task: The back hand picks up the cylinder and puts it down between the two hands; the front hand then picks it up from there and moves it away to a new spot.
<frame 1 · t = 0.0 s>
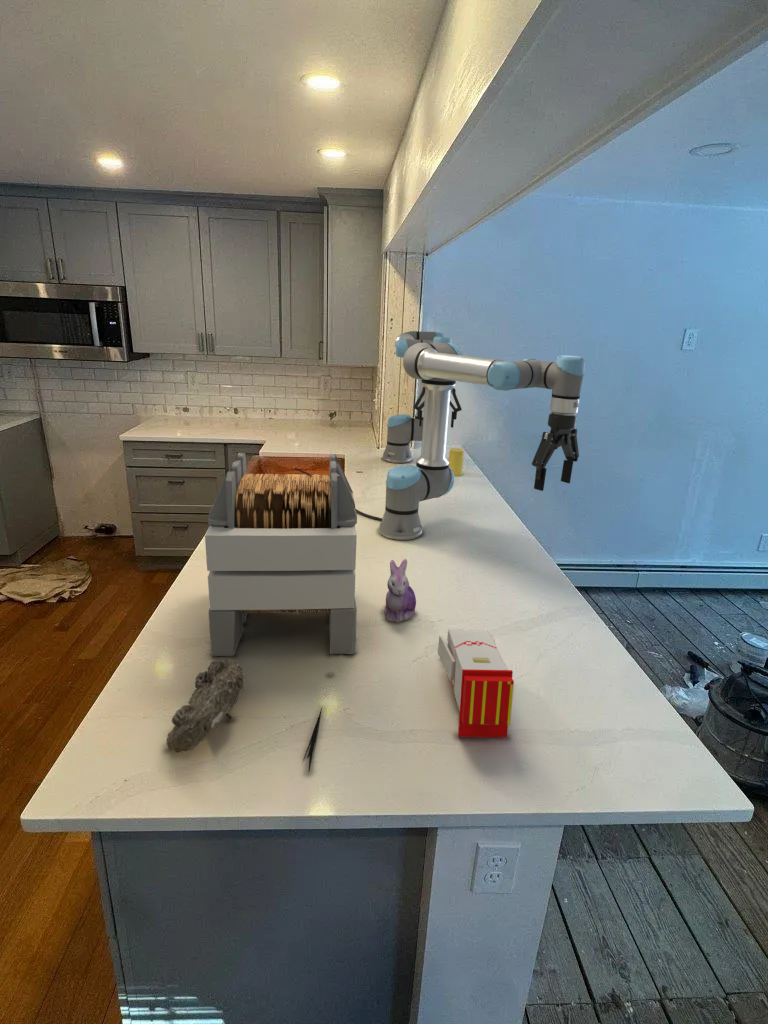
front hand: (552, 485, 166), 28 cm above the counter, tool pointing down, fingers open, 13 cm apart
back hand: (436, 426, 242), 28 cm above the counter, tool pointing down, fingers open, 13 cm apart
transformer: (287, 618, 143), on the counter
toy: (469, 691, 119), on the counter
figurine: (399, 614, 147), on the counter
cylinder: (454, 473, 277), on the counter
fossil: (212, 717, 108), on the counter
feather: (319, 719, 109), on the counter
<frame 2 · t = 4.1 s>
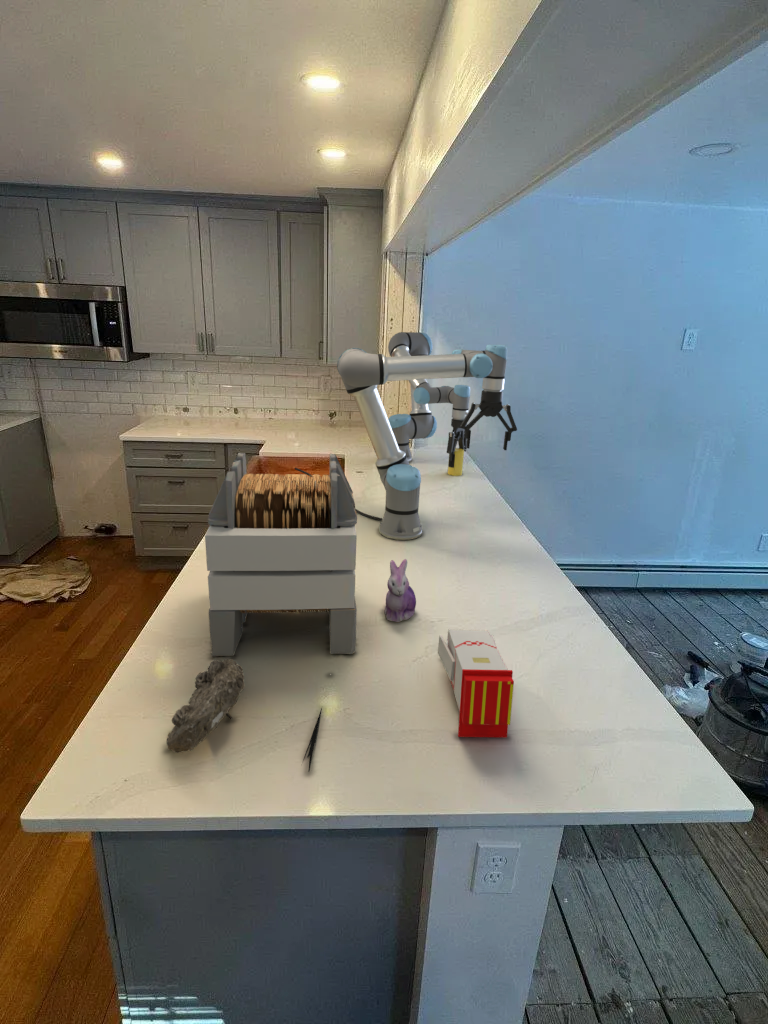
front hand: (486, 448, 209), 28 cm above the counter, tool pointing down, fingers open, 13 cm apart
back hand: (455, 465, 275), 4 cm above the counter, tool pointing down, fingers closed on cylinder, 7 cm apart
cylinder: (454, 473, 277), on the counter, touching back hand
everything else where it was.
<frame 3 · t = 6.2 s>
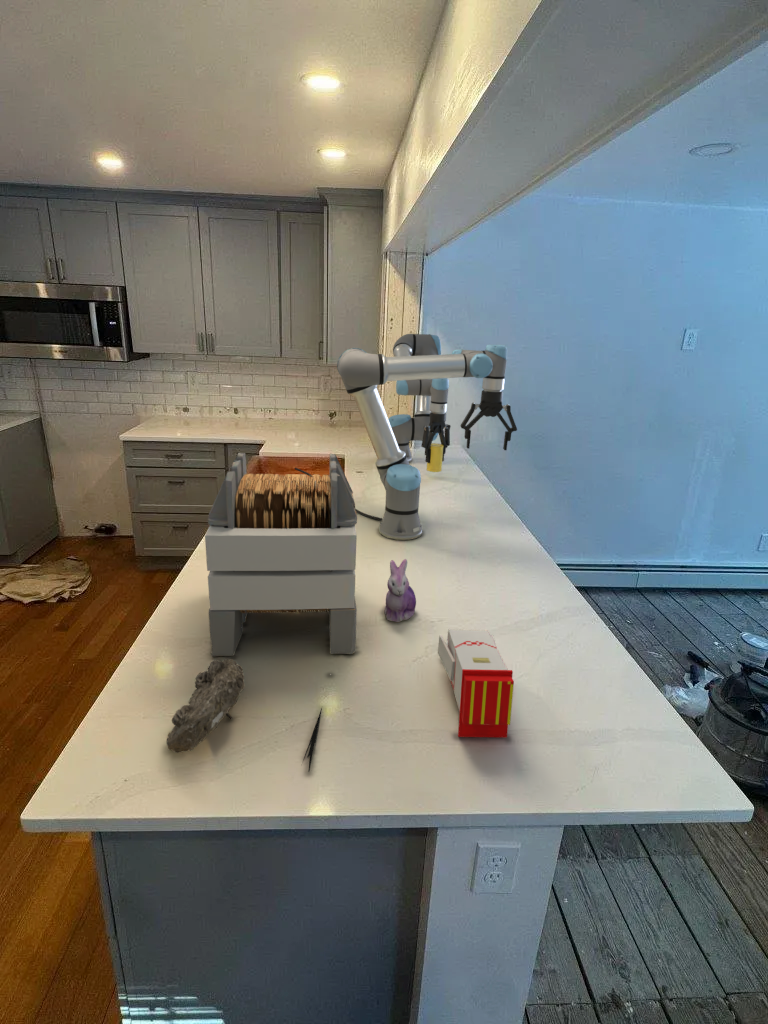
front hand: (486, 448, 209), 28 cm above the counter, tool pointing down, fingers open, 13 cm apart
back hand: (434, 461, 265), 8 cm above the counter, tool pointing down, fingers closed on cylinder, 7 cm apart
cylinder: (434, 470, 266), point 4 cm above the counter, touching back hand
everything else where it was.
when the back hand's fingers open (5 cm above the counter, at t = 8.4 s): cylinder drops 1 cm, on the counter.
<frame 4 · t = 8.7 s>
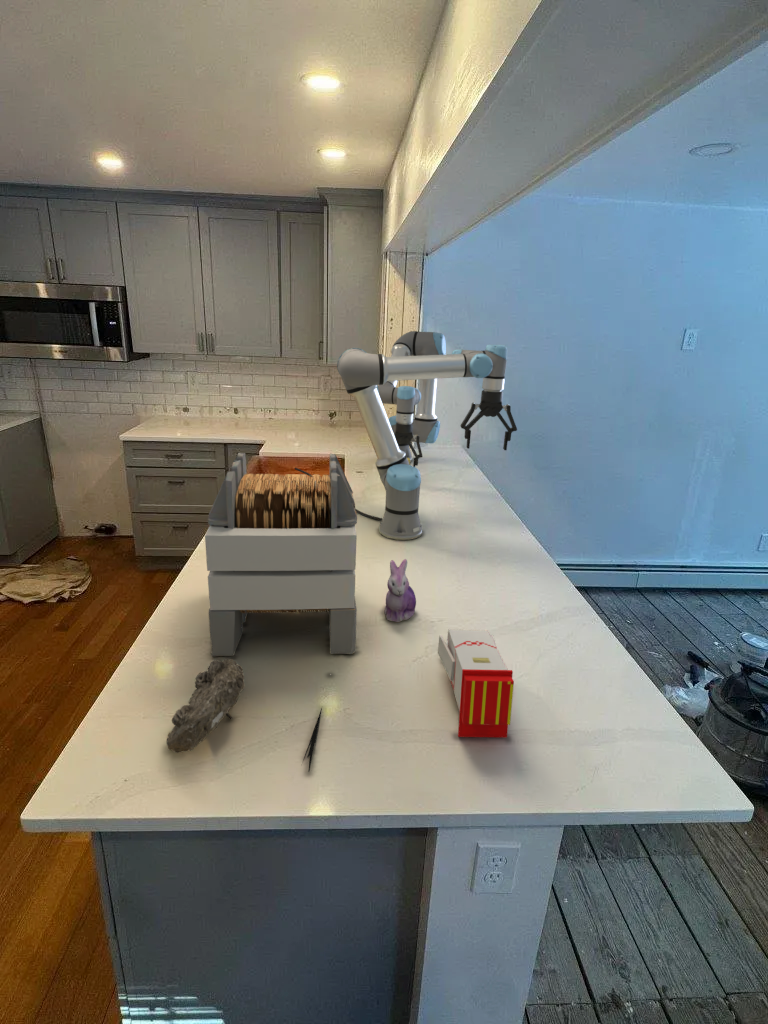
front hand: (486, 448, 209), 28 cm above the counter, tool pointing down, fingers open, 13 cm apart
back hand: (401, 472, 254), 6 cm above the counter, tool pointing down, fingers open, 10 cm apart
cylinder: (401, 484, 256), on the counter
everything else where it was.
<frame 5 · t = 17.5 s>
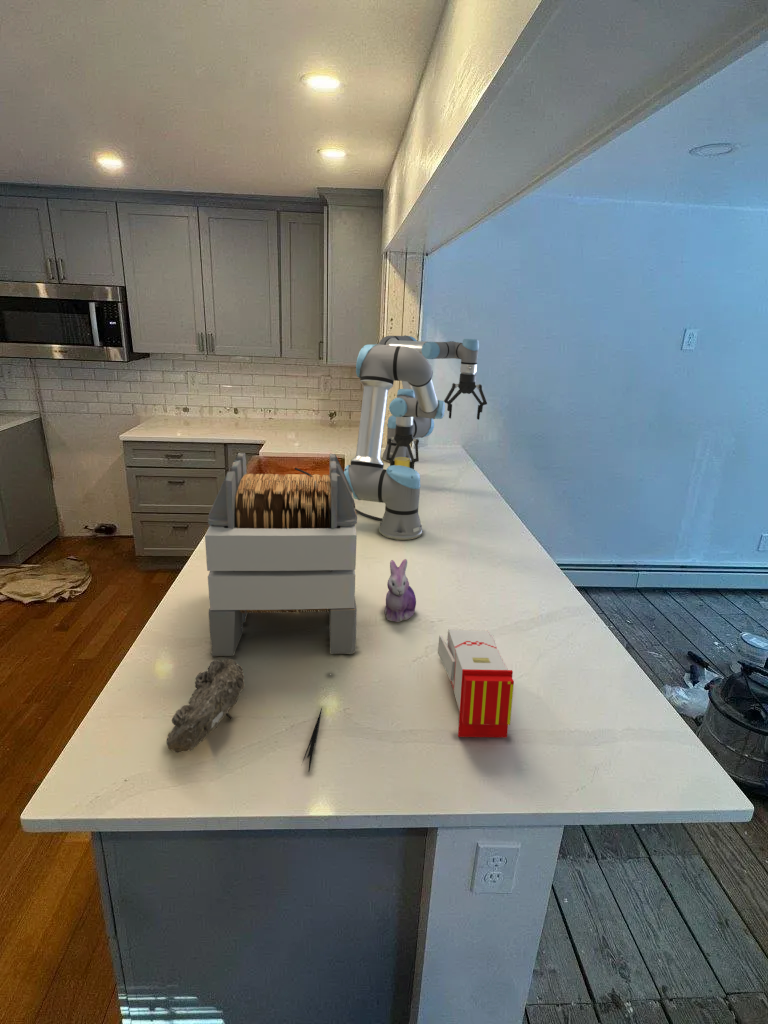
front hand: (401, 475, 254), 4 cm above the counter, tool pointing down, fingers closed on cylinder, 7 cm apart
back hand: (463, 418, 272), 26 cm above the counter, tool pointing down, fingers open, 13 cm apart
cylinder: (401, 484, 256), on the counter, touching front hand
everything else where it was.
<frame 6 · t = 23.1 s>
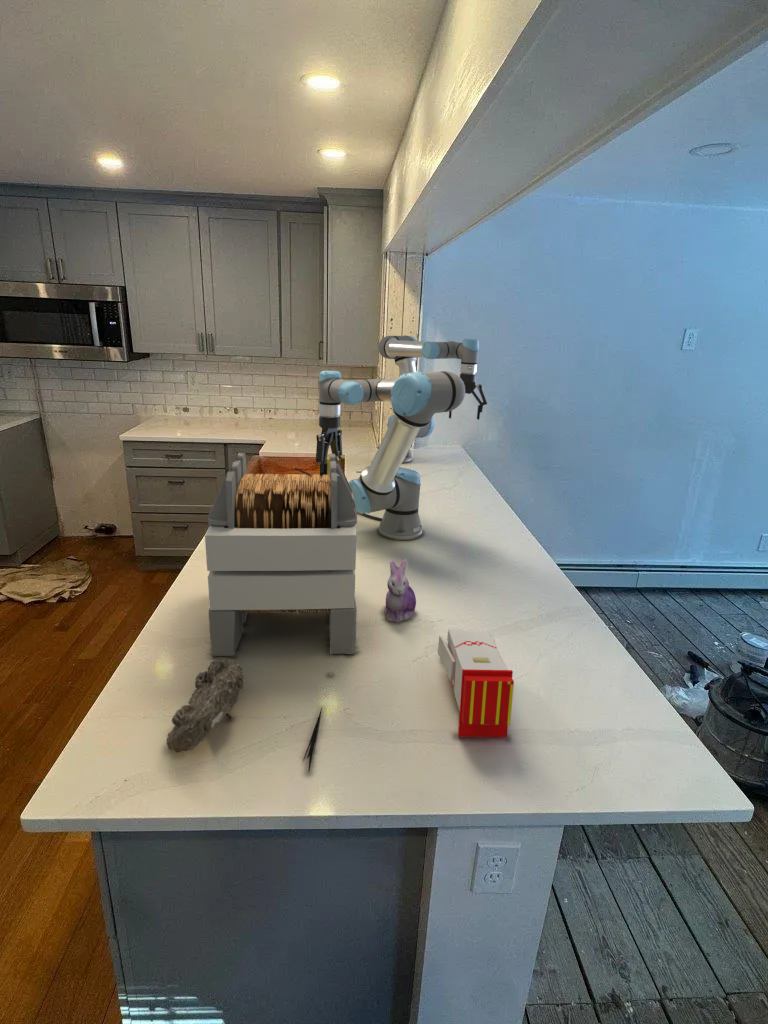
front hand: (329, 477, 208), 15 cm above the counter, tool pointing down, fingers closed on cylinder, 7 cm apart
back hand: (463, 418, 272), 26 cm above the counter, tool pointing down, fingers open, 13 cm apart
cylinder: (328, 488, 210), point 11 cm above the counter, touching front hand
everything else where it was.
when the front hand's fingers open (5 cm above the counter, at t = 28.7 s): cylinder drops 1 cm, on the counter.
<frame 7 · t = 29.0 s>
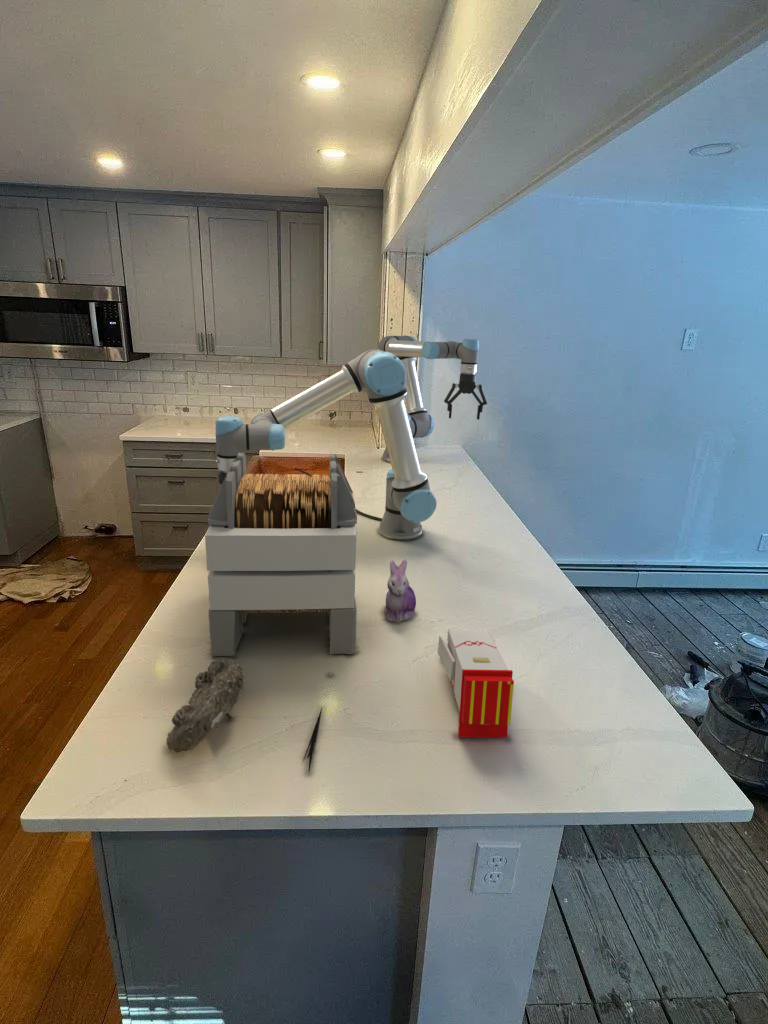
front hand: (234, 539, 174), 6 cm above the counter, tool pointing down, fingers open, 10 cm apart
back hand: (463, 418, 272), 26 cm above the counter, tool pointing down, fingers open, 13 cm apart
cylinder: (235, 557, 176), on the counter
everything else where it was.
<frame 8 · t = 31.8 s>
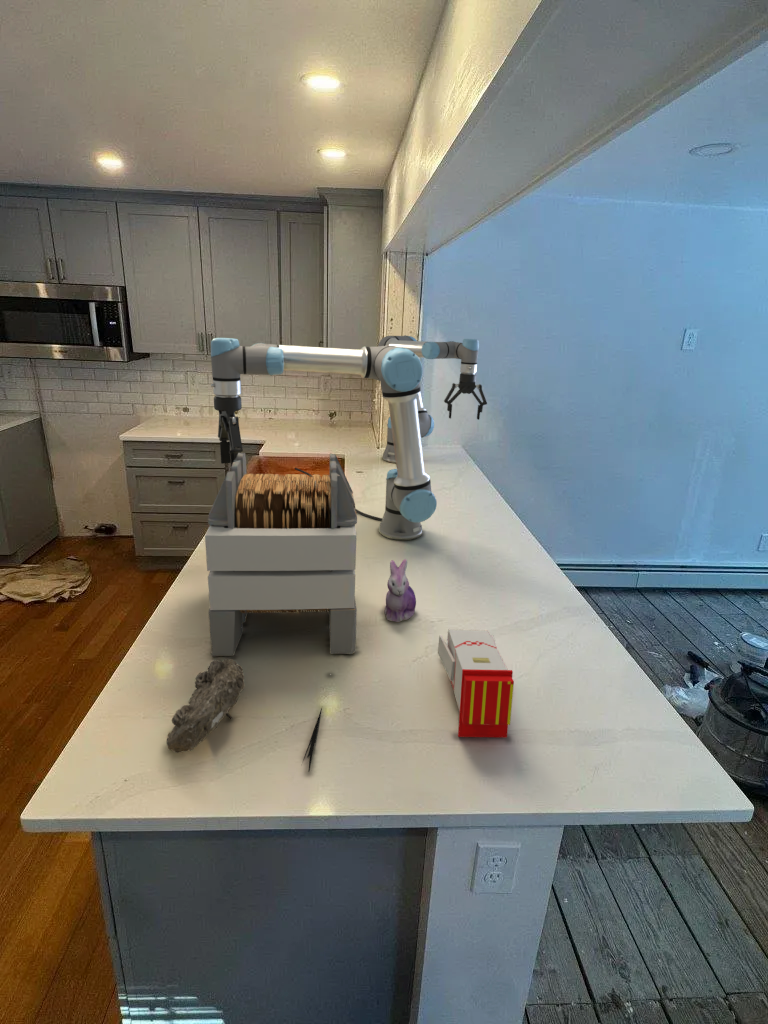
front hand: (231, 468, 166), 28 cm above the counter, tool pointing down, fingers open, 13 cm apart
back hand: (463, 418, 272), 26 cm above the counter, tool pointing down, fingers open, 13 cm apart
nothing on the counter moved.
at the end: cylinder inside the target area (0.1 cm from its centre), on the counter; cylinder tilted 0°; the two hands never held the cylinder at the same time; the front hand is holding nothing; the back hand is holding nothing; cylinder at rest at the end (0.0 cm/s) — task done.
